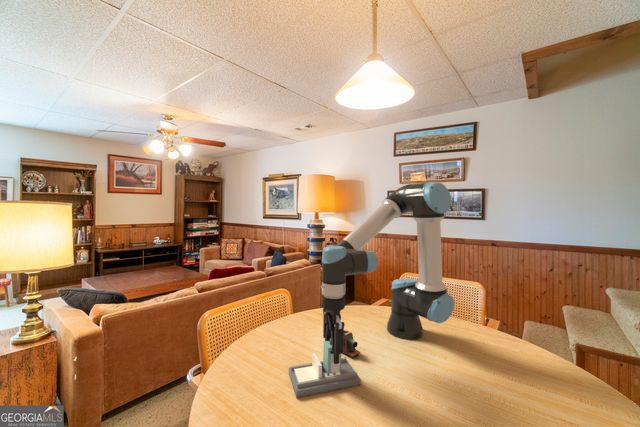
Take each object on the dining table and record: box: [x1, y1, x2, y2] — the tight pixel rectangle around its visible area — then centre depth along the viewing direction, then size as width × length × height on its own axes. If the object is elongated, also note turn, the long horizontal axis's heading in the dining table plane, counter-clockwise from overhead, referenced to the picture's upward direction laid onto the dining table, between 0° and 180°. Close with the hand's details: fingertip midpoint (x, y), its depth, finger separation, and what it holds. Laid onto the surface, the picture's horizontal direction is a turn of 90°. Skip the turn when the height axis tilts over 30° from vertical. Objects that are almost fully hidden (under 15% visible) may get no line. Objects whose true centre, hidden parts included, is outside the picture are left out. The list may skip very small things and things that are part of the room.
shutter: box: [294, 353, 322, 383], centre depth 84 cm, size 7×7×5 cm
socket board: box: [288, 357, 361, 399], centre depth 86 cm, size 20×12×3 cm, turn 107°
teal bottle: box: [322, 338, 343, 374], centre depth 87 cm, size 4×4×10 cm
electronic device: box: [342, 330, 361, 359], centre depth 102 cm, size 4×10×8 cm, turn 41°
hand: (332, 367), depth 87 cm, fingers closed on teal bottle, 4 cm apart
